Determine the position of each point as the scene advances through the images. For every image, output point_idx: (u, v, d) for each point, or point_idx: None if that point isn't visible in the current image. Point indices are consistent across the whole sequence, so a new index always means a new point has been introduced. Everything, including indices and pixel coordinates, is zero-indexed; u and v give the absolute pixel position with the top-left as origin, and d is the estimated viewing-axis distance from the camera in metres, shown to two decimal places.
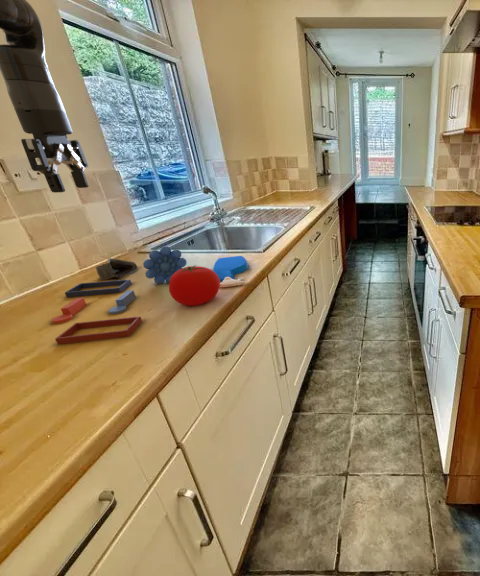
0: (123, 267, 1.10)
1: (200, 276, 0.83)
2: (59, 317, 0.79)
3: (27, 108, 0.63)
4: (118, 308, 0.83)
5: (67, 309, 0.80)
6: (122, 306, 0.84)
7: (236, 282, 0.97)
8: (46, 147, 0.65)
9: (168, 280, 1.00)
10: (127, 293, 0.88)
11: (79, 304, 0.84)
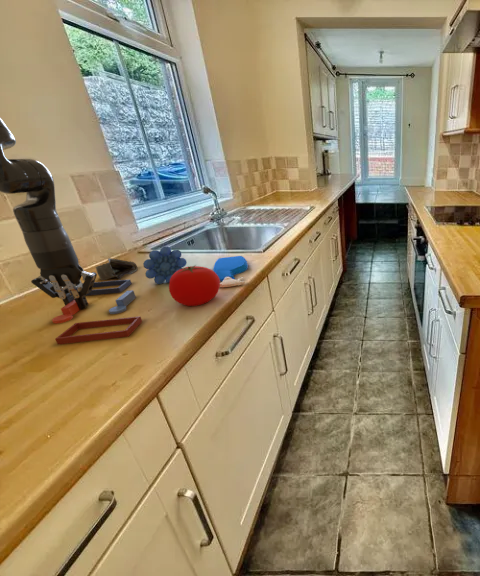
0: (123, 267, 1.10)
1: (200, 276, 0.83)
2: (59, 317, 0.79)
3: None
4: (118, 308, 0.83)
5: (67, 309, 0.80)
6: (122, 306, 0.84)
7: (236, 282, 0.97)
8: (43, 277, 0.79)
9: (168, 280, 1.00)
10: (127, 293, 0.88)
11: None
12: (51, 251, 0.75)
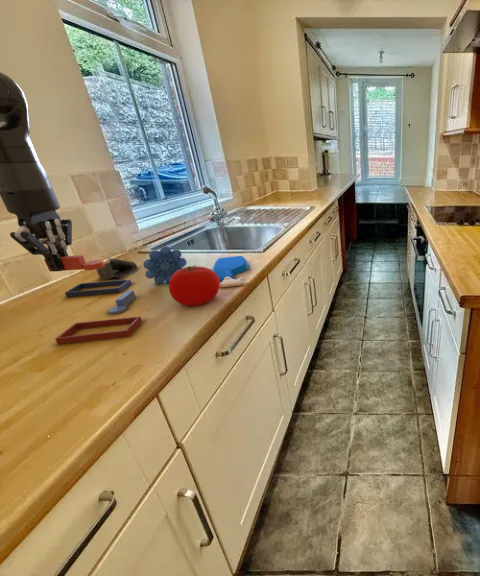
0: (123, 267, 1.10)
1: (200, 276, 0.83)
2: (91, 263, 0.70)
3: (10, 190, 0.60)
4: (118, 308, 0.83)
5: (82, 257, 0.70)
6: (122, 306, 0.84)
7: (236, 282, 0.97)
8: (30, 227, 0.62)
9: (168, 280, 1.00)
10: (127, 293, 0.88)
11: None
12: (51, 187, 0.65)
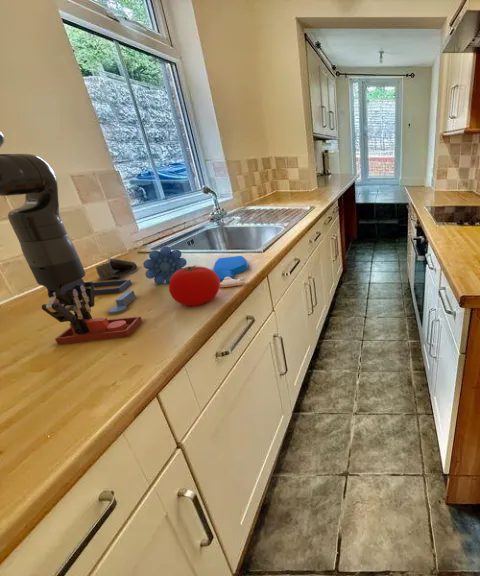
0: (123, 267, 1.10)
1: (200, 276, 0.83)
2: (115, 325, 0.73)
3: (41, 266, 0.62)
4: (118, 308, 0.83)
5: (106, 319, 0.73)
6: (122, 306, 0.84)
7: (236, 282, 0.97)
8: (60, 298, 0.65)
9: (168, 280, 1.00)
10: (127, 293, 0.88)
11: None
12: (78, 256, 0.68)
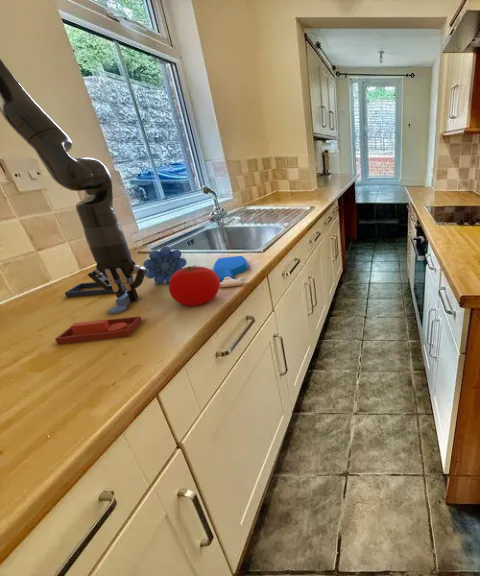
0: None
1: (200, 276, 0.83)
2: (115, 327, 0.73)
3: None
4: (118, 308, 0.83)
5: (107, 321, 0.73)
6: (122, 306, 0.84)
7: (236, 282, 0.97)
8: (98, 270, 0.83)
9: (168, 280, 1.00)
10: None
11: None
12: (109, 245, 0.79)
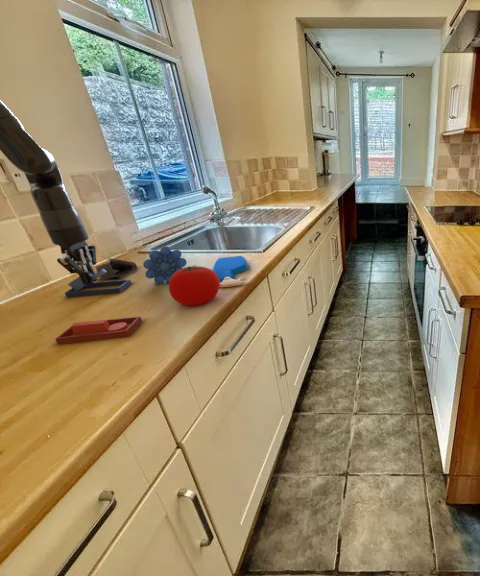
0: (123, 267, 1.10)
1: (200, 276, 0.83)
2: (115, 327, 0.73)
3: (55, 229, 0.84)
4: None
5: (107, 321, 0.73)
6: None
7: (236, 282, 0.97)
8: (70, 254, 0.87)
9: (168, 280, 1.00)
10: None
11: None
12: (82, 223, 0.89)
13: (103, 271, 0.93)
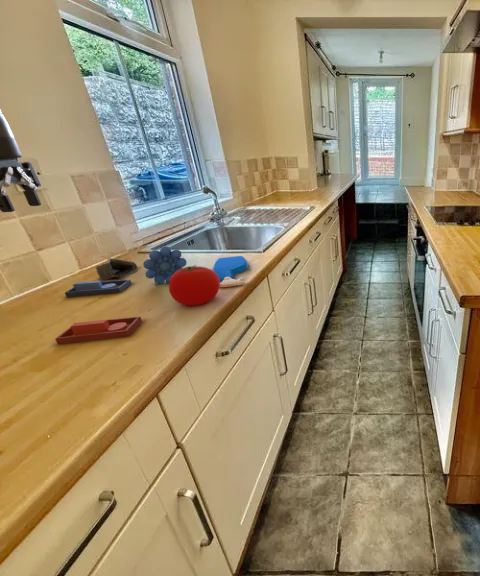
0: (123, 267, 1.10)
1: (200, 276, 0.83)
2: (115, 327, 0.73)
3: None
4: (109, 285, 0.96)
5: (107, 321, 0.73)
6: (105, 285, 0.96)
7: (236, 282, 0.97)
8: None
9: (168, 280, 1.00)
10: (83, 282, 0.94)
11: None
12: (13, 137, 0.74)
13: (114, 287, 0.96)
